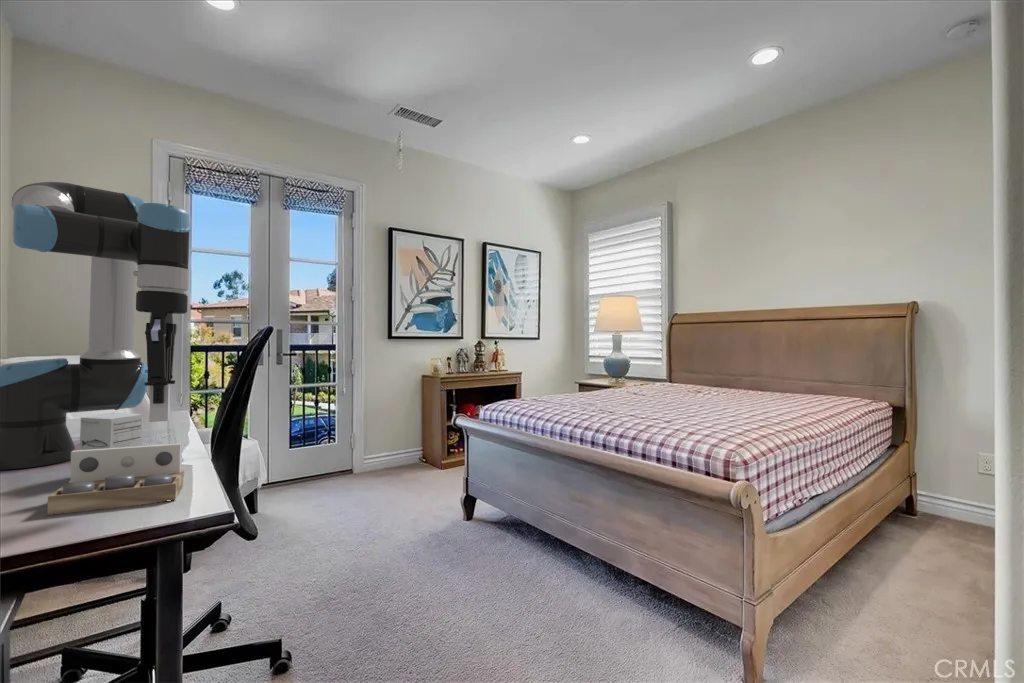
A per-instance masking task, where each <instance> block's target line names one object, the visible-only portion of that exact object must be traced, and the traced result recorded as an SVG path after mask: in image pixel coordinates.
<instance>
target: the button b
mask: <svg viewBox="0 0 1024 683" xmlns="http://www.w3.org/2000/svg"><path fill="white" fill-rule="evenodd" d="M134 479H135V475H134V474H130V473H127V474H117V475H112V476H109V477H106V478H105V490H112V489H122V488H132V487H134Z"/></svg>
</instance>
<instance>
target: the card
mask: <svg viewBox="0 0 1024 683" xmlns="http://www.w3.org/2000/svg"><path fill="white" fill-rule="evenodd" d="M181 463H182V443H169V444H168V443H167V444H166V443H165V444H153V445H152V444H151V445H142V446H135V447H121V448H106V449H91V450H80V449H77V450H75V451H72V452H71V459H70V476H69V477H70V478H69V481H70V483H74V482H83V481H96V480H105V478H106V477H109V476H112V475H117V474H127V473H130V474H134V475H135V477H140V476H151V475H160V474H173V473H180V472H181V470H182V469H181V466H182V464H181Z"/></svg>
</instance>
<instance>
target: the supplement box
mask: <svg viewBox="0 0 1024 683" xmlns="http://www.w3.org/2000/svg"><path fill="white" fill-rule="evenodd" d="M143 415H144V414H141V413H125V412H107V413H102V414H95V415H94V414H93V415H88V416H82V417H80V429H79V430H80V433H79V434H80V435H79V436H80V437H79V450H91V449H106V448H121V447H135V446H143V445H142V444H143V417H144V416H143Z"/></svg>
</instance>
